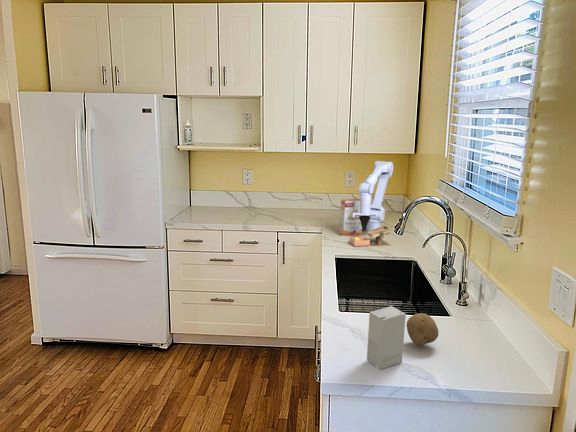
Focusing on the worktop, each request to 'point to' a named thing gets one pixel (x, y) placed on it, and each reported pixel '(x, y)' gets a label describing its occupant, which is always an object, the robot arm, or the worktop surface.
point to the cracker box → (350, 217)
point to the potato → (422, 329)
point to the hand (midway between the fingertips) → (363, 229)
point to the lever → (377, 231)
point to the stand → (376, 242)
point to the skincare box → (386, 337)
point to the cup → (360, 241)
